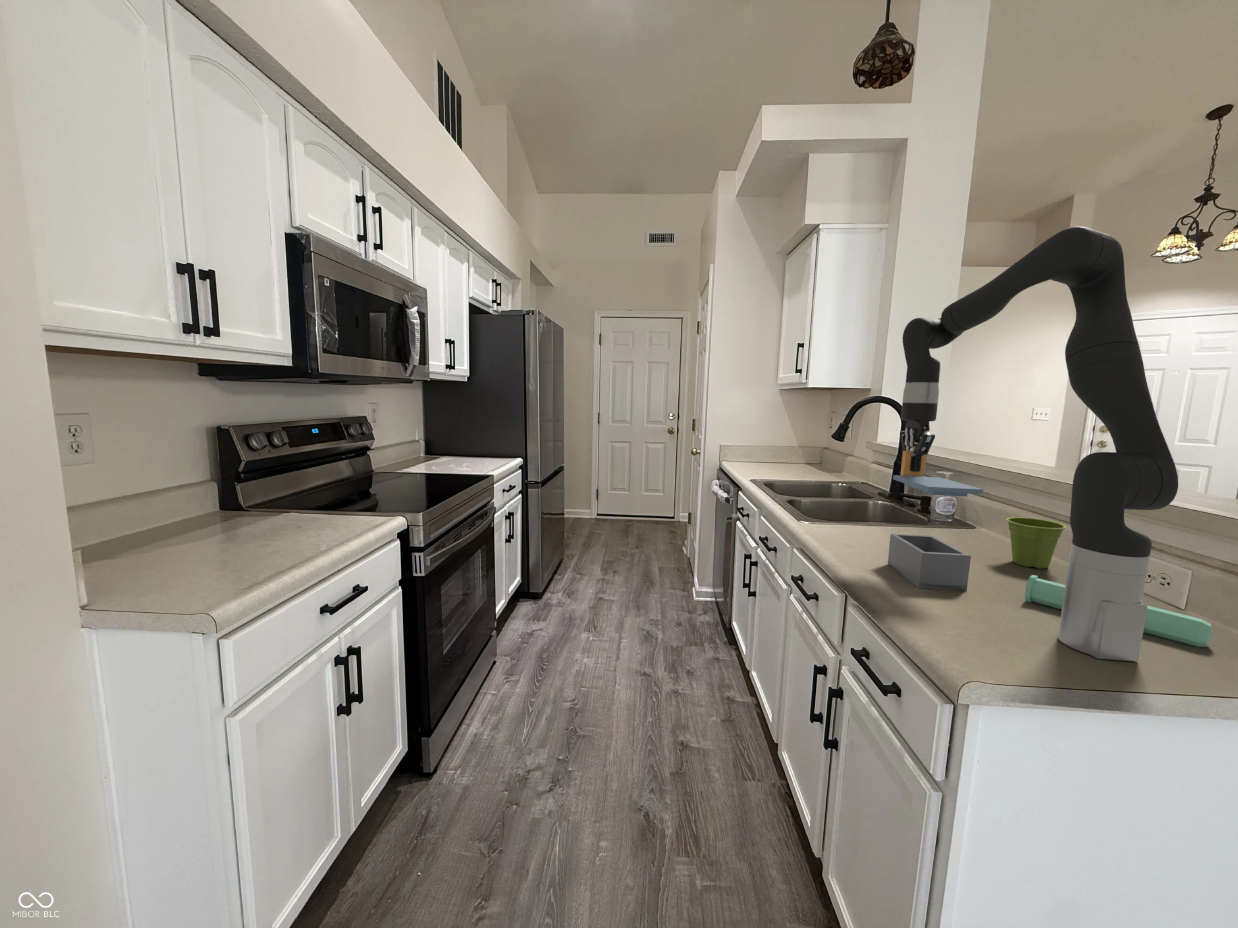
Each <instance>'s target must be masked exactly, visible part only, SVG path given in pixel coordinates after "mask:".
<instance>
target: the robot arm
mask: <svg viewBox="0 0 1238 928" xmlns="http://www.w3.org/2000/svg"><path fill="white" fill-rule="evenodd" d="M1125 274H1126V272H1125V259H1124V251H1123V248H1122V244H1121V243H1120V241H1118V240H1117V238H1115V237H1114V236H1112V235H1109V234H1107V233H1105V232H1103V231H1102V232H1101V231H1098V230H1096V229H1094V228H1091V227H1086V226H1077V225H1076V226H1071V227H1067V228H1065V229H1062V230H1060V231H1058V232H1057V233H1055V234H1053V235H1051V236H1050V237H1049V238H1047V239H1045V241H1042V243H1040V244H1039V245H1038V246H1036V247H1034V248H1033V249H1032V250H1031V251H1030V252H1028V253H1027V254H1026V255H1024V256H1023V257H1022V258H1020V259H1019V260H1018V261H1016V262H1015V263H1013V264H1012V265H1011V266H1009V267H1008V268H1007V269H1005V270H1004V271H1002V272H1001V273H1000V274H998V275H997V276H996V277H994V278H993V279H992V280H990V281H988V282H987V283H985V285H982V286H980V287H979V288H977V289H976V290H974V291H972V292H969V293H967V294H966V295H964V296H963V297H961V298H959V299H957V300H956V301H954V302H952V303H951V304H949V305H947V306H946V307H945V308H943V310H942V312H941V315H940V318H929V317H928V318H927V317H916V318H912V320H910V321H909V322H908V323H907V324H906V326H905V327H904V329H903V333H902V348H903V352H904V353H903V354H904V357H905V362H906V376H905V377H906V378H905V384H904V388H903V394H902V402H901V403H902V404H901V412H900V413H901V416H900V419H901V420H902V421H906V424H905V430H901V431H900V432H899V436H900V437H899V438H900V442H901V448H902V452H903V451H911V463H910V471H913V472H919V471H920V469H921V459H922V457H923V456H924V455H928V454H929V453H930V450H931V447H932V445H933V442H934V441H935V438H936V434H935V433H930V430H931V429H930V422H935V421H936V420H937V414H938V403H939V397H940V395H939V393H940V387H939V384H940V373H941V362H940V361H939V359H937V358H935V357H933V356H932V355H931V351H930V350H935V349H936V350H937V349H939V348H943V347H945V346H948V345H949V344H951V343H952V342H953V341H955V340H956V339H957V338H959V337H960V336H961V335H962V334H964V332H966V331H968V330H971V329H972V328H975V327H977V326H979V325H981V324H984V323H985V322H987V321H989V320H990V319H992V318H995V316H996V315H998V314H1000V313H1001V312H1002V311H1003V310H1004V309H1005V307H1007V305H1008V304H1009V303H1010V302H1011V300H1013V299H1014V298H1015V297H1016V296H1017V295H1019V293H1021V292H1022V293H1023V291H1025V290H1027V289H1029V288H1031V287H1033V286H1035V285H1038V284H1042V283H1043V282H1047V281H1054V282H1057V283H1060V284H1064V285H1066V286H1067V287H1068V288H1069V291H1070V293H1071V295H1072V300H1073V304H1074V308H1075V321H1074V324H1073V326H1072V329H1071V331H1070V334H1069V336H1068V338H1067V342H1066V345H1065V348H1064V349H1065V351H1064V357H1065V358H1064V359H1065V365H1066V369H1067V370H1066V371H1067V374H1068V379H1069V383H1070V386H1071V389H1072V391H1073V392H1074V393H1075V395H1076V396H1077V397H1078V398H1079V399H1080V401H1082V403H1083V404H1084V405H1085V406H1086V407H1087V408H1088V409H1089V410H1090V411H1091V412H1092V413H1093V414H1094V415H1095V416H1096V417H1097V418H1098V419H1099V420H1100V421H1101V423H1102V424H1103V425H1104V426H1105V428H1106V429H1107V431H1108V433H1109V435H1110V437H1111V439H1112V442H1113V446H1114V449H1115V451H1113V452H1112V451H1099V452H1093V453H1089V454H1088V455H1085V457H1083V458H1082V459H1081V460H1080V461H1079V463H1078V464H1077V466H1076V468H1075V471H1074V473H1073V474H1074V475H1073V479H1072V487H1071V502H1070V515H1069V525H1070V529H1071V532H1072V533H1071V534H1072V539H1071V540H1072V541H1071V547H1070V553H1069V558H1068V559H1069V560H1068V566H1067V573H1066V577H1065V578H1066V579H1065V584H1064V585H1065V591H1064V598H1063V605H1062V610H1061V612H1060V613H1061V614H1060V621H1059V628H1058V633H1057V639H1058V640H1059V642H1061V643H1062V644H1064V645H1065V646H1067V647H1069V648H1071V649H1074V650H1076V651H1079V652H1081V653H1084V654H1087V655H1090V656H1092V657H1094V658H1096V659H1100V660H1113V661H1125V662H1126V661H1127V662H1139V659H1140V652H1141V648H1142V647H1141V646H1142V640H1143V635H1144V632H1143V630H1144V625H1145V619H1146V613H1147V606H1148V605H1147V604H1145V603H1142V602H1143V598H1144V591H1145V585H1146V580H1147V575H1148V574H1147V573H1148V567H1149V562H1150V557H1151V556H1150V555H1151V554H1152V553H1151V552H1152V544H1153V543H1152V539H1151V538H1150V537H1149V536H1148V535H1147V534H1144V533H1141V532H1140V531H1139V532H1138V531H1135V530H1133V529H1131V528H1129V526H1127V525H1126V523H1125V510H1132V511H1133V510H1134V511H1135V510H1137V511H1155V510H1161V509H1163V508H1165V507H1167V506H1169V505H1170V504H1171V503H1172V502H1173V501H1174V500H1175V498H1176V496H1177V494H1178V490H1179V475H1178V470H1177V467H1176V464H1175V461H1174V458H1173V455H1172V453H1171V451H1170V448H1169V446H1168V444H1167V441H1166V438H1165V436H1164V432H1163V431H1162V429H1161V426H1160V424H1159V421H1158V418H1157V414H1156V411H1155V410H1156V409H1155V408H1154V407H1155V406H1154V404H1153V400H1152V397H1151V393H1150V389H1149V385H1148V382H1147V377H1146V371H1145V365H1144V360H1143V356H1142V352H1141V347H1140V343H1139V340H1138V338H1137V334H1136V330H1135V326H1134V322H1133V316H1132V313H1131V309H1130V304H1129V302H1128V301H1129V300H1128V299H1127V298H1128V297H1127V288H1126V275H1125ZM912 456H913V457H912Z"/></svg>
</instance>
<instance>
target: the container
mask: <svg viewBox="0 0 1238 928" xmlns="http://www.w3.org/2000/svg"><path fill="white" fill-rule="evenodd" d="M1065 585H1066V584H1063V583H1060V582H1059V583H1057V582H1054V581H1049V580H1046V579H1042V578H1039V576H1038V575H1034V574H1031V575H1030V576H1029V578H1028V580H1027V583H1026V585H1025V591H1024V600H1025V602H1027V603H1032V602H1033V603H1037V604H1041V605H1044V606H1046V607H1047V606H1048V607H1051V608H1055V609H1058V610H1061V611H1062V605H1063V598H1064V591H1065ZM1143 633H1144V634H1149V635H1153V636H1157V637H1160V638H1164V639H1167V640H1171V641H1176V642H1178V643H1181V644H1187V645H1190V646H1193V647H1198V648H1206V647H1207V646H1208V645H1209V643H1210V642H1211V641H1212V639H1213V638H1214V633H1213V627H1212V624H1211V623H1209V622H1208V621H1206V620H1204V619H1202V618H1198V617H1195V616H1191V615H1186V614H1182V613H1178V612H1174V611H1170V610H1167V609H1162V608H1159V607H1154V606H1151V605H1147V613H1146V619H1145V625H1144V630H1143Z"/></svg>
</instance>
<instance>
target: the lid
mask: <svg viewBox="0 0 1238 928" xmlns="http://www.w3.org/2000/svg"><path fill="white" fill-rule="evenodd" d="M927 455H928V454H927ZM927 455H924V456H923V457H922V459H921V469H920V471H919V472H913V471H910V463H911V451H903V450H902V455H901V456H902V458H901V467H900V474H899V475H895V474H894V475H892V480H894V481H896V482H899V483H903V485H904V486H907V487H908V488H912V489H915V490H917V491H920V492H924V493H925V494H928V495H931V496H949V497H968V495H969V494H974V495H983V494H984V489H982V488H980V487H975V486H972V485H969V484H965V483H961V482H958V481H954V480H950V479H947V478H943V477H939V476H937V477H936V476H926V475H925V472H926V464H927ZM912 457H913V456H912Z"/></svg>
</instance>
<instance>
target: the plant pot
mask: <svg viewBox="0 0 1238 928" xmlns="http://www.w3.org/2000/svg"><path fill="white" fill-rule="evenodd" d="M1005 521H1006V522H1007V523H1008V530H1009V533H1010V544H1011V547H1010V548H1011V557H1012V561H1013V562H1014V563H1015V564H1016V565H1019V566H1023V567H1026V568H1031V567H1033V568H1035V569H1039V570H1040V569H1041V570H1042V569H1047V568H1049V567H1050V565H1051V561H1052V559H1053V555H1054V553H1055V550H1056V547H1057V544H1058V541H1059V538H1060V537H1061V536H1062V533H1063V531H1064V530H1065V529H1066V528H1067V526H1066V525H1065V524H1063V523H1060V522H1057V521H1052V520H1047V519H1041V518H1033V517H1019V516H1017V517H1016V516H1013V517H1007V518H1005Z"/></svg>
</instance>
